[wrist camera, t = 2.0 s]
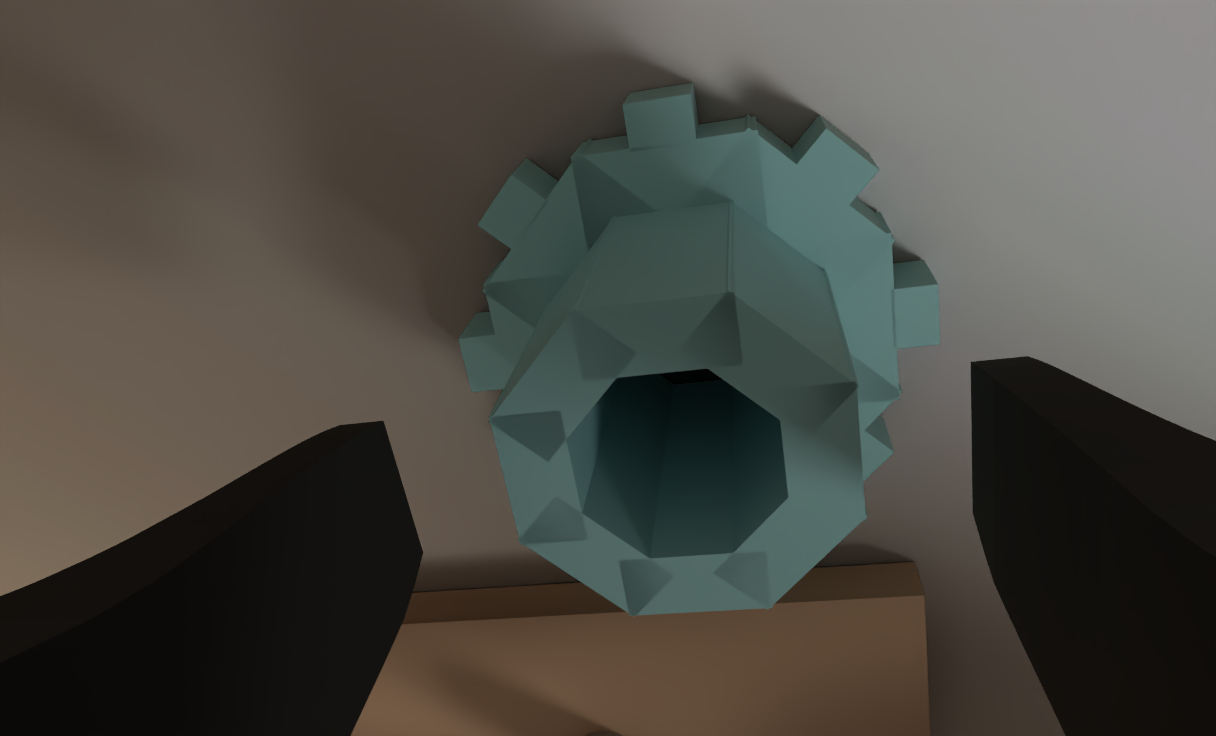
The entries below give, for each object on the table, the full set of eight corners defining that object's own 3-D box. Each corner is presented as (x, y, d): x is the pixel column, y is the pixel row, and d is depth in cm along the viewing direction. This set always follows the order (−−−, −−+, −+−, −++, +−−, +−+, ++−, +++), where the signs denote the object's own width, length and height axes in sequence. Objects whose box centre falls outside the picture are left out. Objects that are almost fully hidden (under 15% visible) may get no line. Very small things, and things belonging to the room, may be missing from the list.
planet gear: (916, 46, 14) (1010, 100, 9) (931, 486, 17) (1007, 696, 12) (430, 124, 15) (295, 206, 10) (525, 516, 18) (453, 716, 14)
